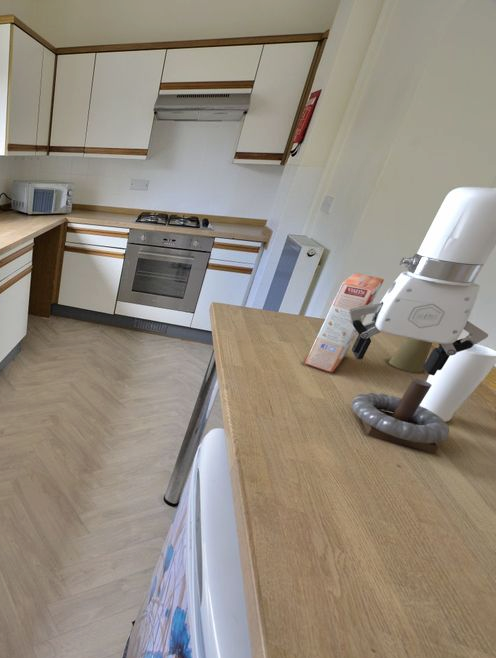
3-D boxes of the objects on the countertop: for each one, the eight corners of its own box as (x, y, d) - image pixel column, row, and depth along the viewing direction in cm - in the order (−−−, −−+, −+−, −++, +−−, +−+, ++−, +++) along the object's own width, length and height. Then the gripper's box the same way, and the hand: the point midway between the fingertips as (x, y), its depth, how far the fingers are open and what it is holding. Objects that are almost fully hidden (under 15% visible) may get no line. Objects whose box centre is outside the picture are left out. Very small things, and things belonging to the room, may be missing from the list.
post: (417, 426, 77) (447, 379, 73) (434, 453, 70) (468, 403, 66) (357, 410, 81) (382, 364, 77) (367, 434, 74) (395, 385, 70)
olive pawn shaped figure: (387, 358, 104) (408, 318, 99) (419, 365, 101) (443, 325, 96) (390, 366, 100) (413, 325, 95) (424, 375, 97) (449, 333, 92)
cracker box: (333, 374, 95) (376, 288, 85) (303, 364, 99) (340, 281, 89) (346, 357, 103) (386, 277, 94) (317, 348, 107) (353, 271, 98)
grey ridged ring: (428, 417, 78) (437, 404, 76) (455, 457, 67) (465, 442, 66) (343, 395, 83) (350, 383, 82) (356, 429, 73) (364, 415, 72)
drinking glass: (400, 408, 83) (439, 342, 76) (418, 402, 85) (458, 337, 79) (443, 428, 77) (489, 358, 71) (461, 421, 80) (508, 353, 73)
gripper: (378, 265, 66) (334, 358, 73) (534, 286, 58) (467, 388, 66) (368, 256, 72) (328, 343, 79) (509, 274, 64) (450, 369, 72)
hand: (391, 363), depth 73 cm, fingers open, 9 cm apart
